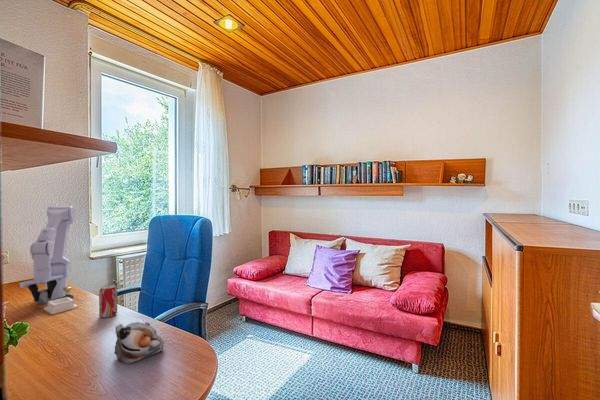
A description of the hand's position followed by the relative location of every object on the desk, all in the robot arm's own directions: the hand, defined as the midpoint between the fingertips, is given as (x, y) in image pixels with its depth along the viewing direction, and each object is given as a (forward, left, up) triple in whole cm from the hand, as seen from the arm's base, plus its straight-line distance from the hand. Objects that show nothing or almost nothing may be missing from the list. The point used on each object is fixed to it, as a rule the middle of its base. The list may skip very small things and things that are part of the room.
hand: (42, 299), depth 133 cm
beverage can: (+33, +12, -4) cm, 35 cm away
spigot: (0, 0, -2) cm, 2 cm away
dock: (+7, +5, -3) cm, 9 cm away
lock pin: (+2, +8, 0) cm, 9 cm away
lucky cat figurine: (+74, +3, -4) cm, 74 cm away
